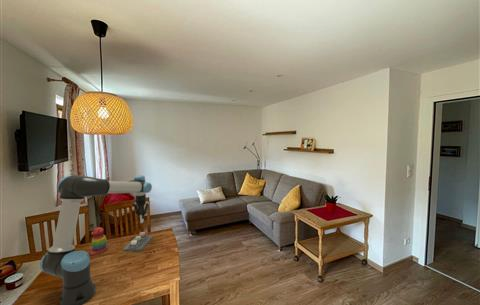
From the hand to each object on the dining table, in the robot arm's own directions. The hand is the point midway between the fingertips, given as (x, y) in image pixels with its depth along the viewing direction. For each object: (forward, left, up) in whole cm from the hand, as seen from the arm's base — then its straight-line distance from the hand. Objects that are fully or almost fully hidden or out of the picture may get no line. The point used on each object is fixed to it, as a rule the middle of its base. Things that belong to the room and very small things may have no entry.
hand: (142, 222), depth 170 cm
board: (-6, 0, -15) cm, 16 cm away
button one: (-13, 0, -12) cm, 18 cm away
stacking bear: (-16, +25, -15) cm, 34 cm away
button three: (0, 0, -12) cm, 12 cm away
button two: (-6, 0, -12) cm, 14 cm away
